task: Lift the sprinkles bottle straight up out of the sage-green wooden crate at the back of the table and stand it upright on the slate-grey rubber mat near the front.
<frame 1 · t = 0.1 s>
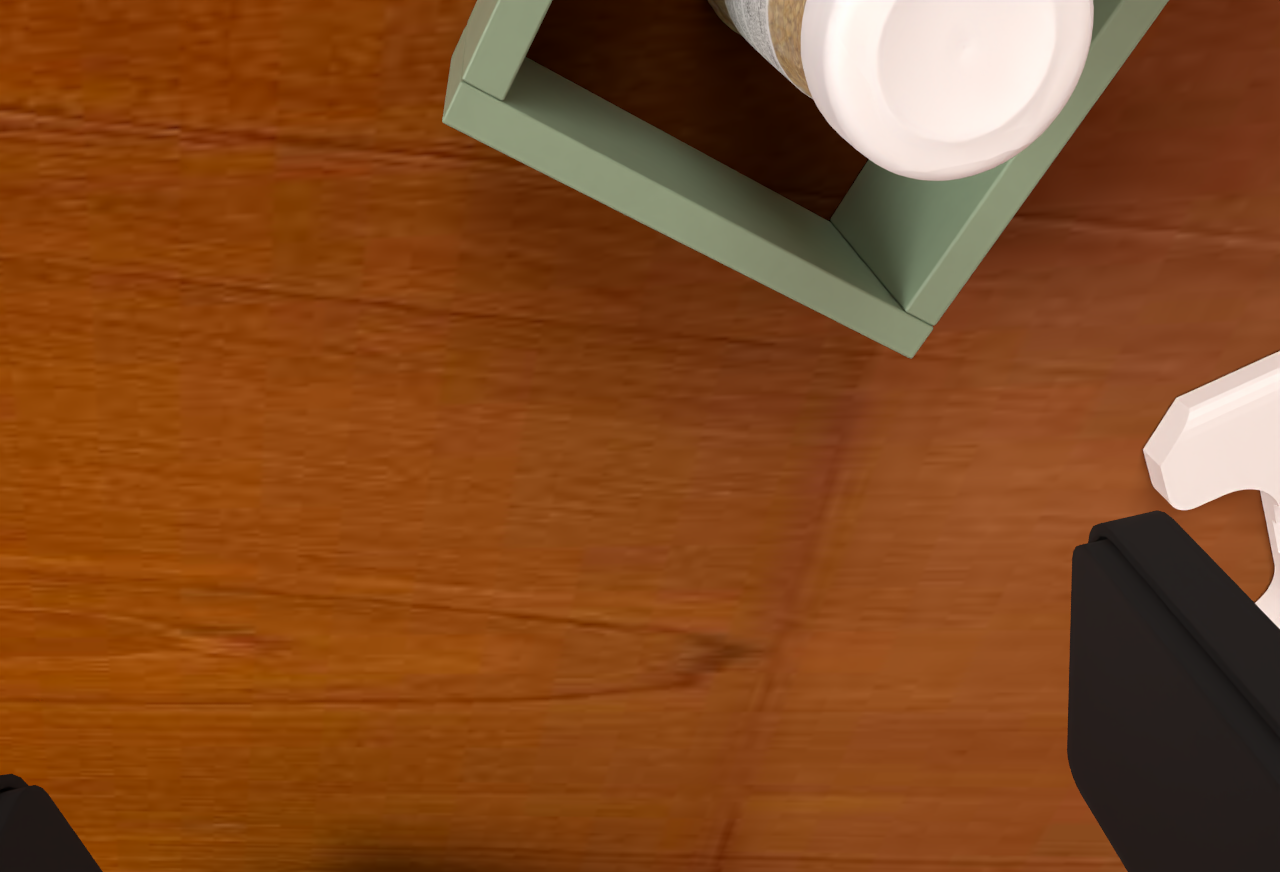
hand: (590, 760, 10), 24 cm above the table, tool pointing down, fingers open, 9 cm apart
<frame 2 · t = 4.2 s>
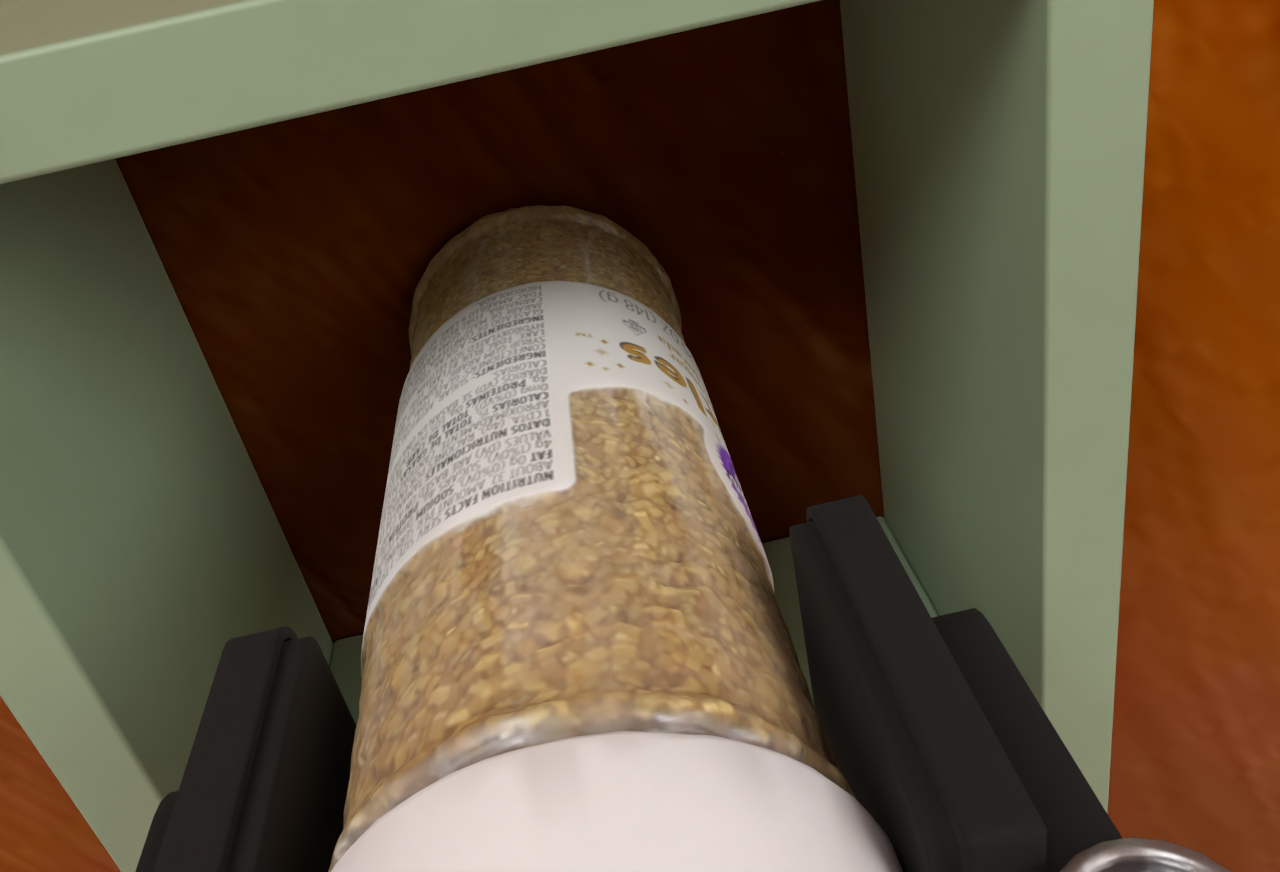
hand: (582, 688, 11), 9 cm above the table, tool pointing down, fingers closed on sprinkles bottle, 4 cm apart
sprinkles bottle: (542, 319, 18), resting in crate, touching gripper
crate: (543, 324, 18), on the table
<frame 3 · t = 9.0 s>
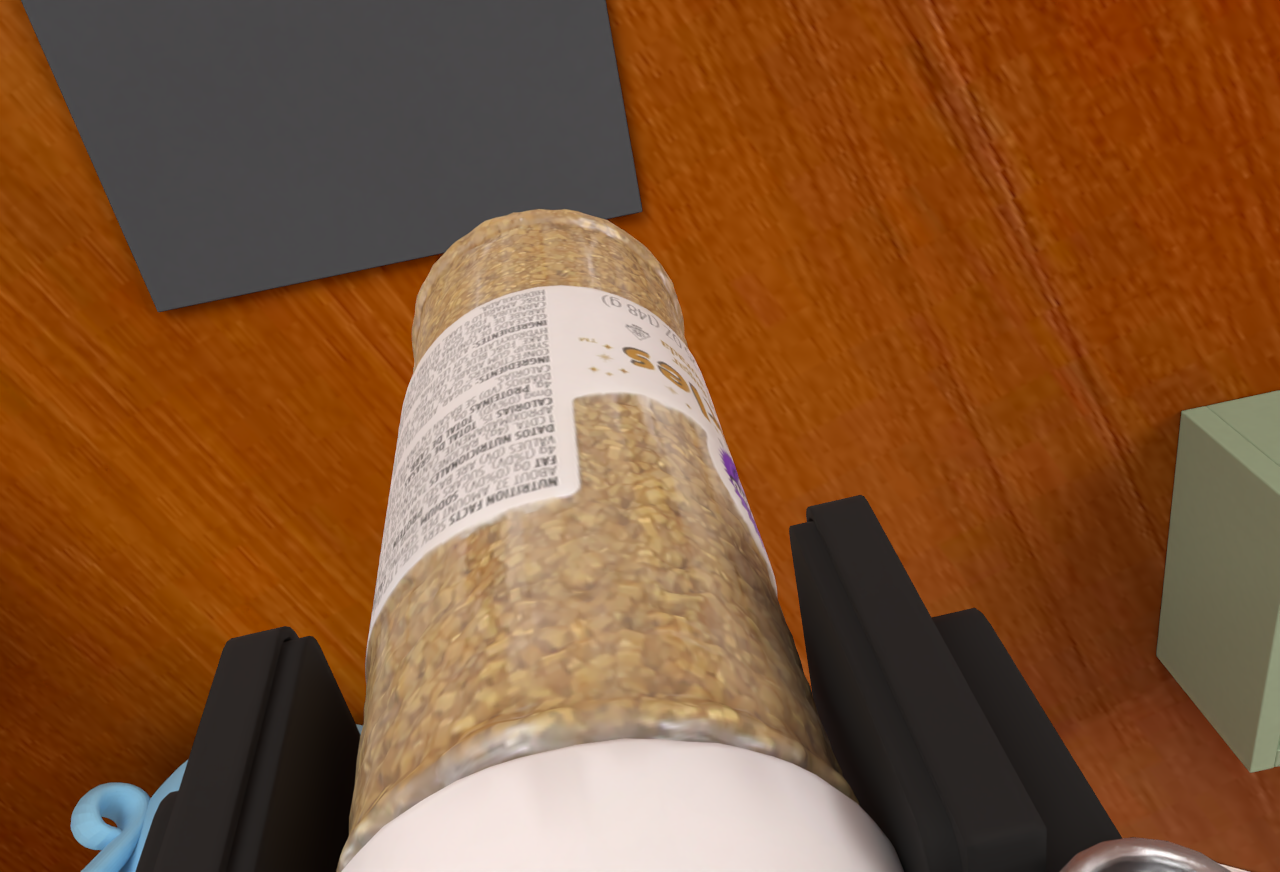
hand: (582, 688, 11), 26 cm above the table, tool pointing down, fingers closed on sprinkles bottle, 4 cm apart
mat: (324, 1, 31), on the table
decorative pot: (332, 808, 47), on the table
sprinkles bottle: (544, 323, 18), point 17 cm above the table, touching gripper
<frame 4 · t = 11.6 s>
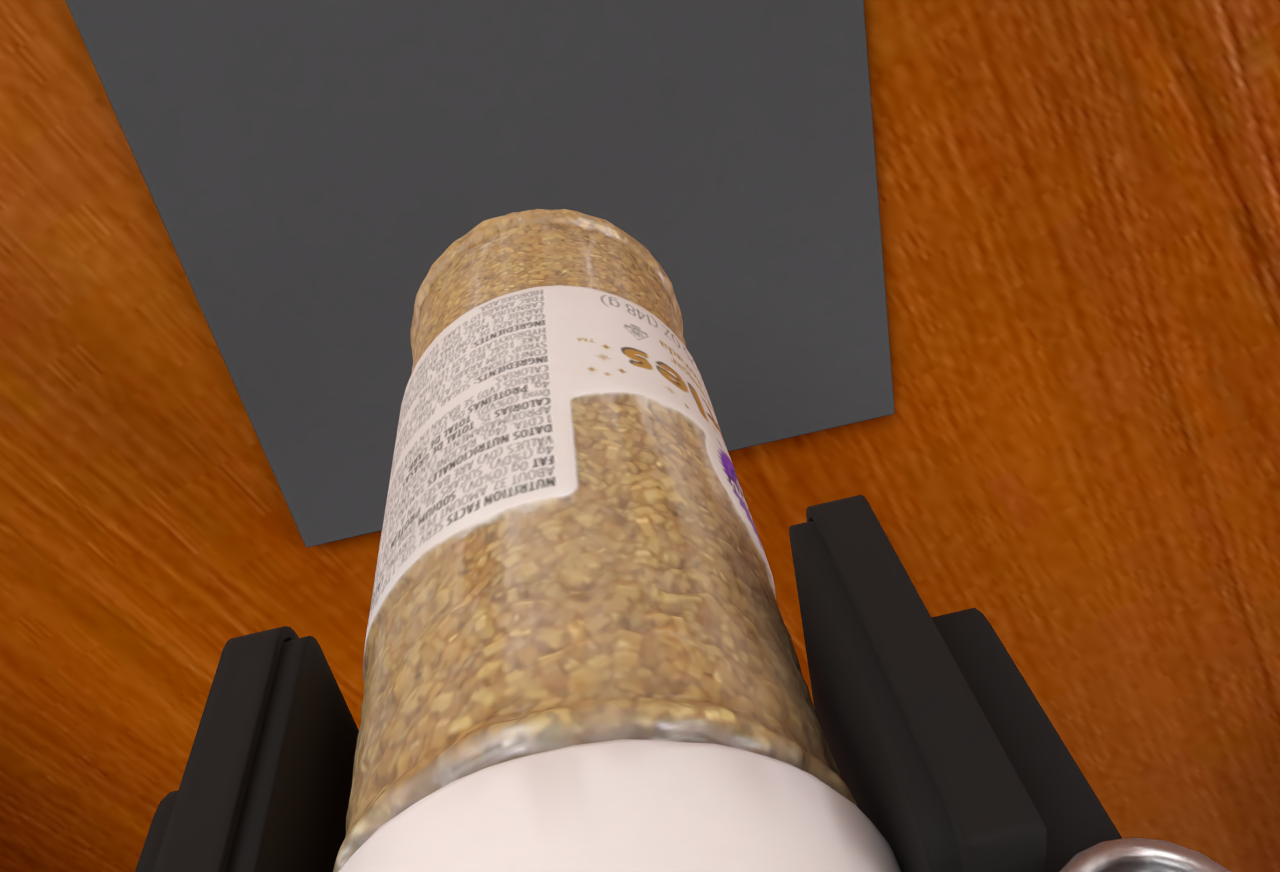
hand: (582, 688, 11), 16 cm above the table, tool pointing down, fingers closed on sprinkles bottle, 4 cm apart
mat: (528, 187, 25), on the table
sprinkles bottle: (543, 323, 18), point 7 cm above the table, touching gripper
when the fingers open (9 cm above the table, at t = 13.7 s): sprinkles bottle stays where it is, resting on mat.
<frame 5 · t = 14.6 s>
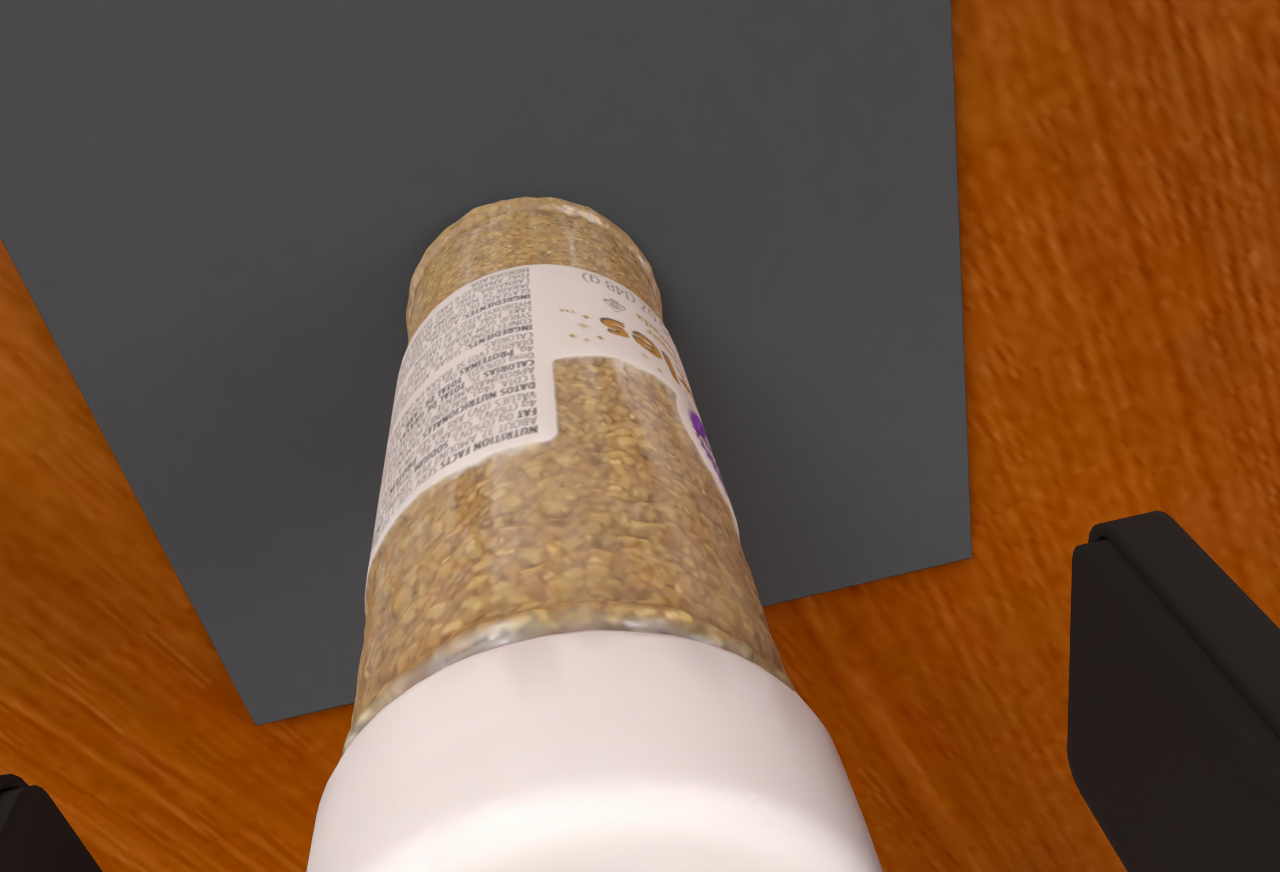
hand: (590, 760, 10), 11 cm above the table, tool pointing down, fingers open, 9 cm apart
mat: (526, 302, 20), on the table
sprinkles bottle: (531, 305, 19), resting on mat
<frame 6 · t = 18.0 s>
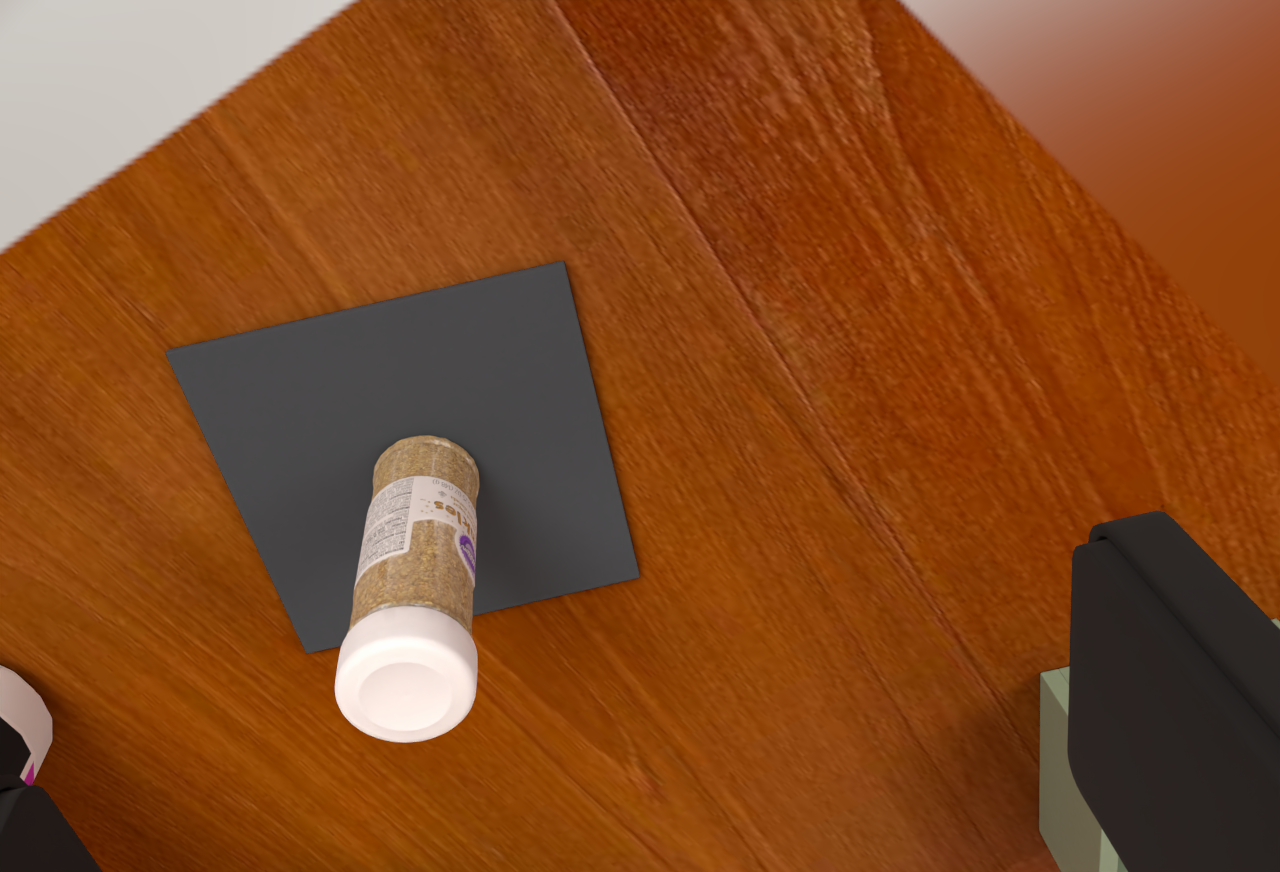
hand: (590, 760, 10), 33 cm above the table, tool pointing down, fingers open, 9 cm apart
mat: (424, 471, 47), on the table
sprinkles bottle: (426, 473, 46), resting on mat
crate: (1151, 730, 61), on the table
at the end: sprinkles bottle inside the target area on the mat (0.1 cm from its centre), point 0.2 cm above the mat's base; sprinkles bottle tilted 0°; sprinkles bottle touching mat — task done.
